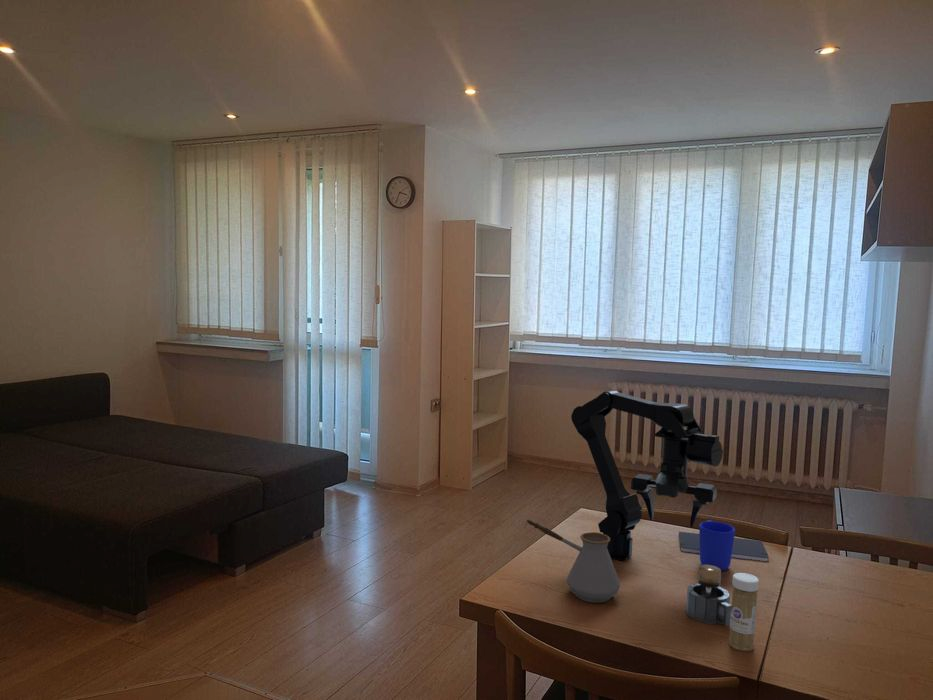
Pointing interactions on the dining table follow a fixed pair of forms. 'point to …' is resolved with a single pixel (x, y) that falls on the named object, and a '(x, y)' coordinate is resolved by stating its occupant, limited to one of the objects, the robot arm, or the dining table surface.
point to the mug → (716, 543)
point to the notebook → (740, 549)
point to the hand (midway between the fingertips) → (671, 523)
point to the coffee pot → (590, 567)
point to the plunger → (709, 577)
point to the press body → (708, 605)
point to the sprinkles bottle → (743, 611)
